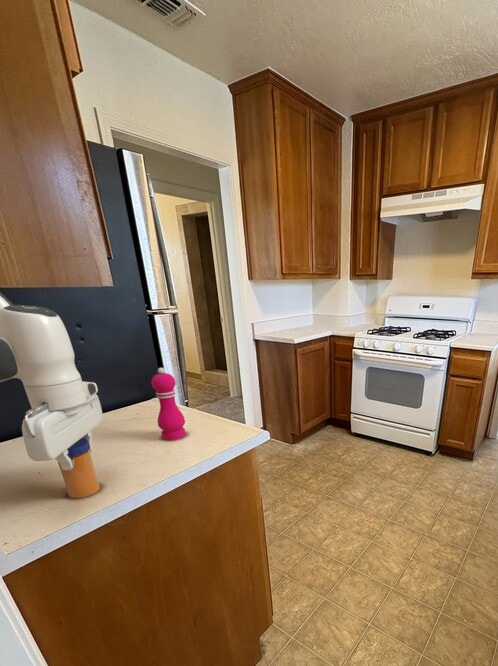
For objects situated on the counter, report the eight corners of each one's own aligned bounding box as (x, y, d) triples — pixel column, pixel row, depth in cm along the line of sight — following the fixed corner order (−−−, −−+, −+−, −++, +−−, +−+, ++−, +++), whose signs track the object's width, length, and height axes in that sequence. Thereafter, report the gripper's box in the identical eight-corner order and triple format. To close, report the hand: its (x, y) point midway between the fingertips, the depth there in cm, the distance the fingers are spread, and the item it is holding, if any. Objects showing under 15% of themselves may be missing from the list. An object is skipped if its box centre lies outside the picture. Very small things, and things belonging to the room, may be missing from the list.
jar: (64, 500, 72) (49, 454, 68) (73, 486, 77) (59, 443, 73) (95, 495, 74) (82, 450, 70) (102, 482, 78) (90, 439, 74)
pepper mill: (187, 429, 107) (175, 363, 99) (187, 438, 100) (174, 369, 93) (161, 433, 104) (146, 366, 96) (160, 442, 98) (144, 371, 90)
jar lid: (80, 457, 69) (78, 450, 68) (46, 459, 68) (44, 451, 68) (95, 444, 75) (93, 437, 74) (64, 445, 74) (62, 438, 74)
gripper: (41, 413, 58) (67, 485, 63) (100, 381, 77) (115, 439, 82) (0, 414, 57) (29, 488, 63) (69, 382, 76) (87, 441, 81)
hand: (78, 460), depth 73 cm, fingers closed on jar, 5 cm apart
